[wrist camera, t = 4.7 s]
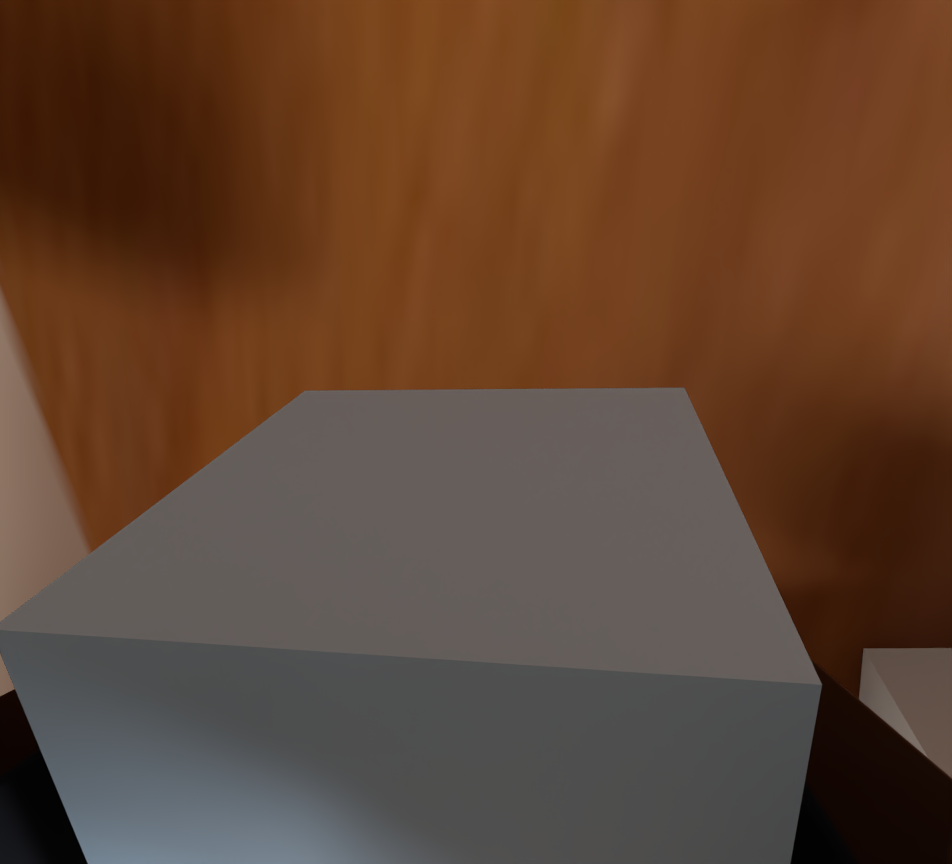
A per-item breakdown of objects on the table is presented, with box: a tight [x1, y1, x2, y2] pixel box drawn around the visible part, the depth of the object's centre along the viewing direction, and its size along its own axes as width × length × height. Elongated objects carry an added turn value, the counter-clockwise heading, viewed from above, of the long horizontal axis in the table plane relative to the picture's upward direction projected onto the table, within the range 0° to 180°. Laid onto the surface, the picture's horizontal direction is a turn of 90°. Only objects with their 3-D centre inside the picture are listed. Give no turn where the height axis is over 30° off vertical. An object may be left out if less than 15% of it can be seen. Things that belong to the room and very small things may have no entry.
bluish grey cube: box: [0, 388, 822, 864], centre depth 7 cm, size 5×5×5 cm
